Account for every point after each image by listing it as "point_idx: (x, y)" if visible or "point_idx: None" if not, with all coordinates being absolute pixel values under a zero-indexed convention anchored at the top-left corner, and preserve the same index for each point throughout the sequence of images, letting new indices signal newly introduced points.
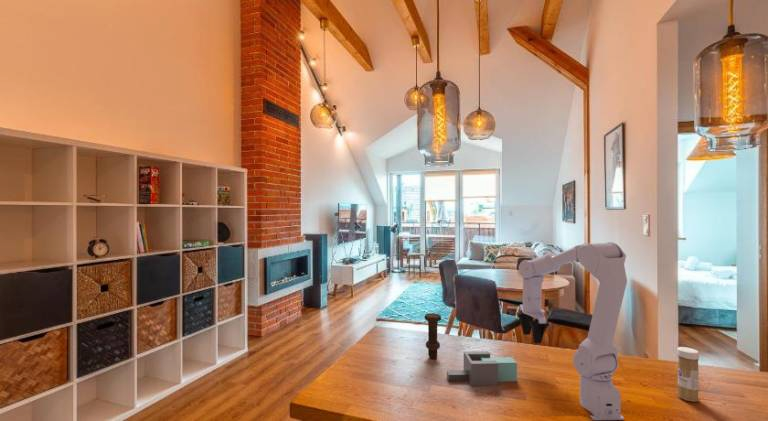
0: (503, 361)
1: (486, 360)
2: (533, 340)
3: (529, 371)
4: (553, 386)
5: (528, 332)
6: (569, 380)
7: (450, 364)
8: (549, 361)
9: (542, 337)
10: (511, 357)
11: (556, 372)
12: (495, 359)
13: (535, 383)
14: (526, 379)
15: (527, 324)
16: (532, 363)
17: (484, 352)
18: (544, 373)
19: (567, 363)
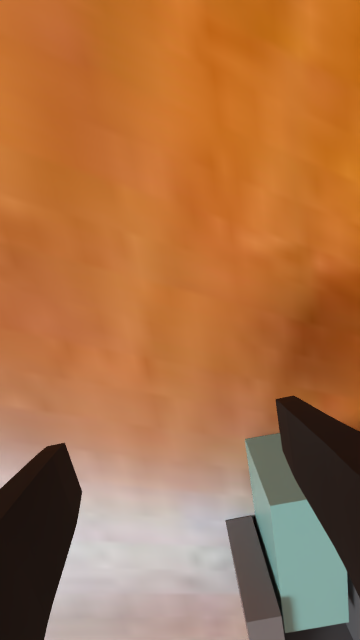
0: (332, 549)
1: (321, 612)
2: (294, 470)
3: (196, 359)
4: (343, 289)
5: (62, 472)
6: (277, 184)
7: (177, 631)
8: (38, 219)
9: (331, 419)
10: (274, 508)
11: (187, 224)
12: (307, 579)
13: (317, 360)
14: (281, 389)
15: (26, 566)
16: (92, 324)
17: (265, 637)
18: (208, 293)
19: (39, 106)
